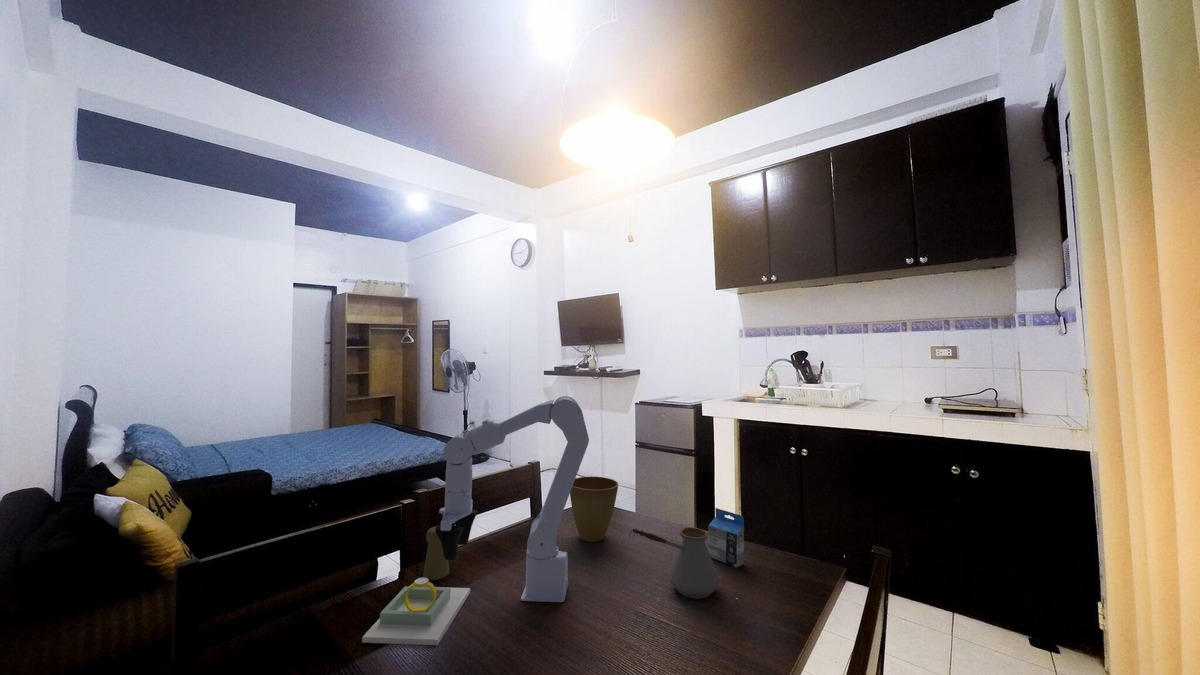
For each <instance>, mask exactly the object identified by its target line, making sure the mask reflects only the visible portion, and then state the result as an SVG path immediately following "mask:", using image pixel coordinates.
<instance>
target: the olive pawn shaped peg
mask: <svg viewBox="0 0 1200 675" xmlns="http://www.w3.org/2000/svg"><path fill="white" fill-rule="evenodd" d="M437 526H438V525H437ZM437 526H433V527H430V528H429V529H428V530H427V532H426V536H425V538H426V542H427V543H428V545H427V550H426V556H425V561H424V567H423V575H422V578H428V580H429V581H435V580H436V581H437V580H440V579H441V580H442V579H444V578H446V577H448V575H450V566H449V565H450V564H449V563H450V562H449V560H445V557H444V553H443V548H442V544H441V541H440V539H439V537H438V535H437V534H436V531H435V530H436V527H437Z"/></svg>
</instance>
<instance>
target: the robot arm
mask: <svg viewBox="0 0 1200 675" xmlns="http://www.w3.org/2000/svg"><path fill="white" fill-rule="evenodd" d="M551 421H552V422H553V423H554V424H555V426H557V427H558V428H559V430H561V431H562V433H563V436H564V437H565V440H566V441H567V443H566V446H565V448H564V451H563V453H562V456H561V459H560V462H559V464H558V467H557V468H556V472H555V474H554V477H553V480H552V482H551V485H550V488H549V490H548V493H547V496H546V498H545V501H544V503H543V506H542V507H541V510H540V512H539V514H538V515H537V516H536V518H534V519H533V520H532V522H531V524H530V532H529V536H528V539H527V542H526V546H527V549H526V558H525V561H526V562H525V564H526V565H525V586H524V589H523V592H522V594H521V597H520V601H522V602H542V603H543V602H546V603H563V602H565V599H566V595H567V590H568V586H569V578H568V577H569V576H568V572H569V571H568V570H569V566H568V565H569V555H568V552H567V551H562V550H559V546H558V545H557V533H558V530H559V525H560V522H561V519H562V516H563V512H564V509H565V508H566V504H567V501H568V499H569V498H570V491H571V489H572V486H573V483H574V481H575V478H577V475H578V472H579V469H580V466H581V464H582V462H583V459H584V456H585V453H586V451H587V448H588V446H589V442H590V438H589V434H588V430H587V425H586V421H585V418H584V413H583V410H582V409H581V407H580V405H579V404H578V401H576V400H575V399H574V398H573V397H571V396H568V395H564V396H560V397H558V398H557V399H550V400H548V401H545V402H542V403H537V405H534V406H532V407H530V408H528V409H526V410H524V411H523V412H520V413H518V414H516V415H514V416H512V417H510V418H508V419H506V420H504V421H503V420H502V421H498V420H495V419H491V420H489V419H486V420H484V421H482V422H481V423H482V424H481V425H478V426H476V427H474V428H472V429H470V430H468V428H467V429H465V430H463V431H462V433H460V434H457V435H455V436H454V437H453V438H452V437H451V439H450V440H447V442H446V443H445V445H444V447H443V456H444V458H445V460H446V464H445V466H446V469H445V486H444V488H445V490H444V507H442V508H440V509H439V510H438V512H439V514H442V520H441V521H440V524H438V525H437V527H436V526H435V527H436V530H435V531H436V534H437V535H438V537H439V539H440V541H441V544H442V548H443V553H444V557H445V560H448V561H455V559H456V557H457V554H458V548H459V545H461V546H463V545H464V546H467V545H468V542H469V539H470V536H471V535H470V534H471V532H472V531H471V530H472V526H473V524H474V521H475V519H476V516H478V510H477V509H473V504H474V502H473V501H474V500H473V499H472V492H473V491H472V490H473V457H472V456H473V455H479V454H481V453H484V452H486V451H488V450H491V449H492V448H493V449H494V447H495V448H496V447H497V446H499V445H501V444H503V443H504V441H505V440H506V437H507V435H510V434H512V433H516V432H517V431H519V430H522V429H525V428H527V427H529V426H532V425H534V424H537V423H542V424H547V425H550V424H551Z"/></svg>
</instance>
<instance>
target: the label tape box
mask: <svg viewBox="0 0 1200 675" xmlns="http://www.w3.org/2000/svg"><path fill="white" fill-rule="evenodd" d="M714 509H715V510H714V511H715V516H714V518H712V521H711V522H710V523H709V524H708V527H707V528H708V529H707V530H708V532H707V533H708V537H707V549H708V552H709V554H710V557H711V559H714V560H716V561H719V562H722V563H724V564H726V565H729V566H732V567H734V568H739V567H741V566H743V565H744V560H745V559H744V558H745V556H744V553H745V552H744V551H745V550H744V548H745V546H744V545H745V542H744V541H745V540H744V538H745V537H744V536H745V524H744V523H745V522H744V515H740V514H737V513H734V512H731V511H727V510H724V509H720V508H717V507H715V508H714ZM726 516H727V517H726ZM728 516H730V518H729V517H728ZM732 518H733V519H732Z"/></svg>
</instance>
